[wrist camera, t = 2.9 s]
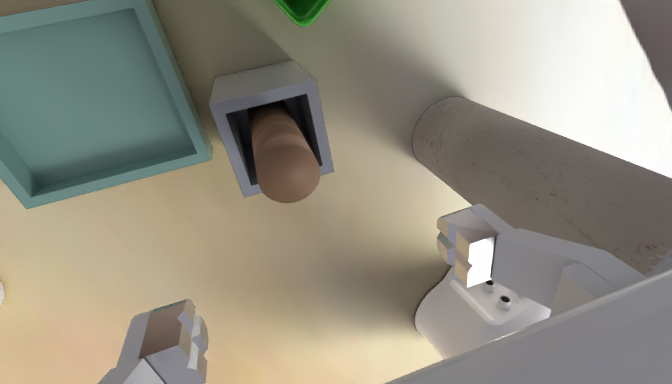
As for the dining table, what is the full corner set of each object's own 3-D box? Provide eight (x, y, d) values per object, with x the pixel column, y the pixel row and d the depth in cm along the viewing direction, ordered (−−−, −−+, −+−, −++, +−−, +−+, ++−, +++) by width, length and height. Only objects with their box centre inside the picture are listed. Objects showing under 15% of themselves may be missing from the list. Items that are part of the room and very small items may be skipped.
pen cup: (292, 59, 27) (315, 79, 20) (308, 131, 30) (334, 171, 23) (215, 77, 26) (208, 105, 19) (241, 149, 30) (244, 197, 22)
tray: (148, -8, 23) (140, -10, 20) (212, 148, 29) (211, 159, 27) (-80, 35, 21) (-116, 38, 18) (42, 193, 27) (26, 209, 25)
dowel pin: (280, 85, 27) (313, 138, 16) (289, 122, 29) (325, 193, 18) (241, 94, 26) (248, 156, 16) (253, 131, 28) (267, 210, 17)
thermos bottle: (483, 148, 37) (917, 392, 14) (421, 179, 37) (754, 483, 13) (474, 83, 33) (1089, 272, 9) (403, 117, 32) (853, 404, 9)
